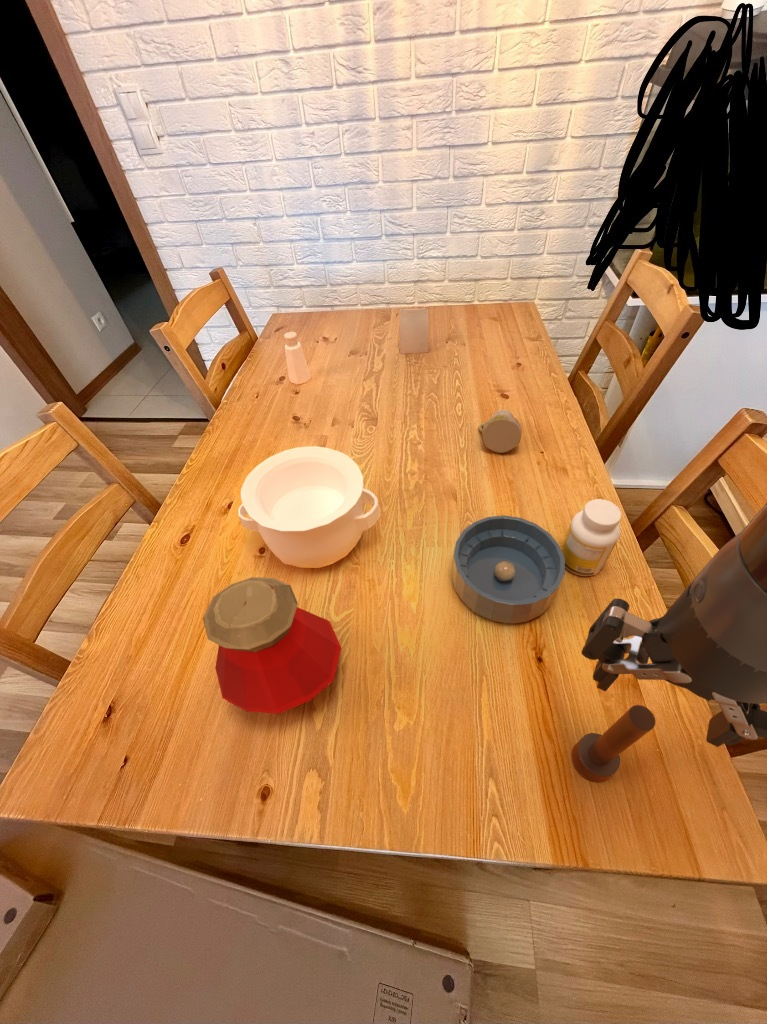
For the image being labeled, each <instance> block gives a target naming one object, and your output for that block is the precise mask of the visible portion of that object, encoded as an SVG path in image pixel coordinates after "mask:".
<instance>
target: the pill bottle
mask: <svg viewBox="0 0 767 1024" xmlns="http://www.w3.org/2000/svg"><path fill="white" fill-rule="evenodd" d="M621 519H622V512H621V510H620V508H619V506H617V505H616V504H615V503H614V502H612V501H610V500H608V499H603V498H595V499H591V500H589V501H588V502H587V503H586V504H585V506H584V508H583V510H580V511H579V512H577V513H576V514H575V515H574V516H573V518H572V520H571V522H570V525H569V527H568V530H567V533H566V535H565V537H564V540H563V543H562V545H561V547H560V548H561V551H562V553H563V556H564V558H565V569H566V570H567V571H569V572H571V573H572V574H574V575H577V576H580V577H581V576H582V577H591V576H594V575H598V574H599V573H600V572H602V570H603V569H604V567H605V565H606V563H607V561H608V559H609V558H610V555H611V554H612V553H613V551H614V548H615V547H616V545H617V543H618V541H619V539H620V537H621V526H620V521H621Z"/></svg>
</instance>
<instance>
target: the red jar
mask: <svg viewBox="0 0 767 1024" xmlns="http://www.w3.org/2000/svg"><path fill="white" fill-rule="evenodd" d="M298 605H299V603H298V600H297V598H296V595H295V593H294V590H293V588H292V586H291V584H289V583H287V582H284V581H282V580H279V579H277V578H276V577H261V576H252V577H249V578H245V579H243V580H240V581H237V582H234V583H231V584H229V585H228V586H226V587H225V588H223V589H222V590H220V591H219V592H217V593H216V594H215V595H214V596H212V598H211V600H210V602H209V604H208V607H207V609H206V611H205V613H204V615H203V618H202V621H203V626H204V629H205V633H206V637H207V640H208V641H210V642H212V643H214V644H217V645H218V649H217V655H216V660H215V666H214V667H215V673H216V677H217V682H218V685H219V690H220V693H221V697H222V699H223V700H225V701H227V702H228V703H230V704H232V705H234V706H236V707H238V708H240V709H241V710H243V711H245V712H251V713H263V714H275V715H276V714H277V715H279V714H282V713H283V712H286V711H288V710H291V709H293V708H297V707H298V706H301V705H303V704H305V703H309V702H310V701H312V700H313V699H314V698H315V697H317V695H318V694H320V693H321V692H322V691H323V690H324V689H326V687H328V686H329V685H330V684H331V683H332V682H333V681H334V680H335V677H336V672H337V668H338V664H339V660H340V655H341V652H342V651H341V650H342V646H341V643H340V641H339V639H338V637H337V634H336V632H335V630H334V628H333V626H332V623H331V621H330V620H328V619H326V618H323V617H321V616H319V615H317V614H315V613H311V612H310V611H308V610H305V609H303V608H300V607H298Z"/></svg>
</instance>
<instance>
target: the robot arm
mask: <svg viewBox="0 0 767 1024" xmlns="http://www.w3.org/2000/svg"><path fill="white" fill-rule="evenodd" d="M629 609H630V604H629V602H628V601H626V600H624V599H621V598H613V599H612V600H611V601H610V602H609V603H608V605H607V606H606V607H605V609H604V610H603V611H602V613H601V614H600V615H599V616H598V617H597V619H596V620H595V621H594V622H593V624H591V626H590V628H589V629H588V634H587V638H586V640H585V643H584V645H583V648H582V650H581V656H583V657H585V659H588V660H591V661H595V660H597V662H596V665H595V668H594V671H593V674H592V680H593V681H595V682H597V684H596V688H597V689H600V690H602V691H603V692H607V690H608V689H609V688H610V687H611V686H612V685H613V684H614V683H615V682H616V680H617V679H618V678H619V676H620V675H632V676H633V677H634V678H635V679H636V680H639V681H642V680H644V681H645V680H646V681H665V682H668V683H670V684H671V685H673V686H677V687H680V688H683V689H686V690H687V691H689V692H690V693H692V694H694V695H695V696H698V698H699V697H700V698H702V699H703V700H706V701H708V702H710V701H711V700H713V701H715V703H716V704H718V705H719V708H720V709H721V711H719V712H717V713H716V714H714V715H713V716H711V718H710V719H709V721H708V726H707V733H706V743H708V744H710V745H712V746H714V747H716V748H719V747H721V746H723V745H725V746H734V745H736V744H738V743H740V742H742V741H744V740H746V739H747V740H751V741H754V740H758V739H759V737H760V738H764V739H767V711H766V710H762V709H761V705H762V704H767V502H766V503H765V504H764V505H763V507H762V508H761V509H759V511H758V512H757V513H756V515H754V517H753V518H752V519H751V520H750V521H749V523H747V525H746V526H745V527H743V529H742V530H741V531H740V532H739V533H738V534H736V535H735V536H734V537H733V538H731V539H730V540H729V541H728V542H726V543H725V544H724V545H723V546H721V548H719V550H718V551H716V553H715V554H714V555H713V556H712V557H711V559H710V560H709V561H708V562H707V563H706V565H705V566H704V567H703V568H702V569H701V570H700V572H699V573H698V574H697V575H696V576H695V578H693V580H692V581H691V582H690V583H689V584H688V586H687V587H686V588H685V589H684V591H683V592H682V593H681V594H680V595H679V596H678V597H677V598H676V600H675V601H674V602H673V603H672V604H671V605H670V606H669V608H668V609H667V611H666V612H665V613H664V615H663V616H661V617H658V618H652V619H650V620H649V621H648V620H646V619H644V618H641V617H640V616H637V615H635V614H633V613H631V612H629ZM629 637H631V638H629ZM626 654H628V655H627V657H626V658H625V655H626ZM649 660H650V661H651V663H650V662H649ZM760 704H761V705H760Z"/></svg>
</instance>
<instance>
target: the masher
mask: <svg viewBox="0 0 767 1024" xmlns="http://www.w3.org/2000/svg"><path fill="white" fill-rule="evenodd" d="M655 726H656V718H655V715H654V713H653V712H652V711H651V710H650V709H649V708H648V707H646V706H644V705H640V704H634V705H632V706H631V707H630V708H629V709H628V710H627V711H625V713H623V714H622V715H621V717H619V718H618V719H617V720H616V721H615V722H614V723H613V724H612V725H611V726H610V727H608V729H606V731H604V732H603V733H602V734H600V733H596V732H590V733H588V734H585V735H583V736H582V737H581V738H580V739H579V740H578V741H577V742H576V743H575V744H574V746H573V748H572V750H571V762H572V765H573V767H574V769H575V770H576V772H577V773H578V774H579V775H580V776H581V777H582V778H583V779H585V780H587V781H589V782H592V783H602V782H605V781H607V780H608V779H610V778H611V777H612V776H614V775H615V774H616V773H617V772H618V770H619V769H620V766H621V756H620V755H621V754H622V753H623V752H624V751H626V750H627V749H628V748H630V747H631V746H632V745H633V744H635V743H636V742H638V741H639V740H640V739H641V738H643V737H644V736H645V735H647V734H648V733H650V731H652V730H653V729H654V728H655Z"/></svg>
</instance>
